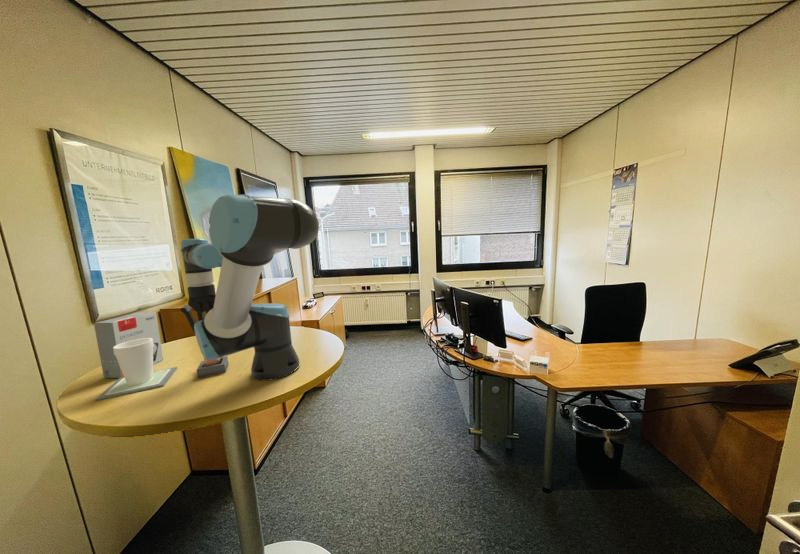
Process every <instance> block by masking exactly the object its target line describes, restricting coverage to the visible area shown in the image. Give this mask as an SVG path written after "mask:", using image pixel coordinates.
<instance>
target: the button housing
mask: <svg viewBox="0 0 800 554" xmlns="http://www.w3.org/2000/svg"><path fill="white" fill-rule="evenodd" d="M228 357H229V356H228V355H227V356H224V357H222V358H220V361H221V363H220V364H217V365H212V366H207V367H205V362H204V360H201V362H200V363H199V365H198V367H196V375H197V376H196V377H197V379H201V378H202V379H203V378H206V377H210V376H216V375H221V374H224V373H226V372H227V369H228V366H229V358H228Z"/></svg>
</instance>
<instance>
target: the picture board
mask: <svg viewBox="0 0 800 554" xmlns="http://www.w3.org/2000/svg"><path fill="white" fill-rule="evenodd" d="M177 369H178V366H174V367H170V368H169V367H167V368H164V369H160V370H153V379H151V380H150V381H147V382H145V383H142V384H138V385H133V386H129V385H127V383H126V380H125V378H124V377H122V378H117V380H115V381H114V382H113V383H112V384H111V385H109V386H108V387H107V388H106V389H105V390H104V391H103V392H102V393H101V394H99V395H98V396H97V397H96V398H94V399H95V401H96V400H98V401H102V400H106V398H107V399H110V398H111V397H112V398H115V396H116V397H120V396H119V395H121V396H125V395H124V394H126V395H129V393H130V394H133V393H134V392H135V393H138V392H144V391H148V390H152V389H156V388H157V389H158V388H162V387H164V386H165V385H166V384H167V382H169V380H170V378H171V377H172V376H173V375H174V374H175V372H176V371H177ZM101 399H102V400H101Z"/></svg>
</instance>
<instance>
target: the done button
mask: <svg viewBox="0 0 800 554" xmlns="http://www.w3.org/2000/svg"><path fill="white" fill-rule="evenodd" d="M203 361H204V362H205V367H207V366H212V365H217V364H220V363H221V361H220V358H217V359H213V360H207V359H205V358H204V357H203Z"/></svg>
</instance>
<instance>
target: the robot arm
mask: <svg viewBox="0 0 800 554" xmlns="http://www.w3.org/2000/svg"><path fill="white" fill-rule="evenodd" d="M318 219H319V218H318V217H317V215H316V213H315V211H314V210H313V209H312V208H311V207H310V206H309V205H307V204H306V203H304V202H302V201H300V200H298V199H293V198H281V197H270V196H269V197H268V196H267V197H266V196H254V195H253V196H252V195H248V194H244V193H243V194H242V193H240V194H236V195H235V194H225V195H222V196H220V197H218V198H217V199H216V200H215V201H214V203H213V205H212V206H211V210H210V212H209V218H208V224H209V227H208V232H209V233H208V234H209V239H210V241H211V242H210V243H209V241H208V239H206V238H187V239H185V238H184V239H182V240H181V241H180V253H181V255H182V262H183V268H184V273H185V274H184V275H185V281H186V282H185V283H186V285H187V286H188V287H187V294H188V301H187V304H186V305H185V306H183V307H181V308H180V312H182V314H184V315H185V318H186V319H187V321H188V323H189V325H190V327H191V330H192V331H193V334H194V335H195V338H196V341H197V344H198V348H199V350H200V352H201V355H202V357H203V359H204V358H205V359H207V360H213V359H217V358H222V357H226V356H227V357H228V356H229V355H233V354H236V353H240V352H242V351H246V350H249V349H254V355H253V360H252V364H251V367H250V373H251V377H252V378H253V379H254V380H257V381H271V379H273V380H276V379H275V378H278V379H280V378H279V377H281V378H283V377H282V376H284V377H286V376H285V375H287V374H289V373H291V372H292V371H294V370H295V369H296V368H297V367H298V366H299V364H300V359H299V356H298V354H297V351H296V350H295V348H294V346H293V341H292V331H291V321H290V313H289V311H288V307H287V306H286V305H285V304H282V303H272V302H269V303H267V302H264V303H255V304H253V300H254V296H255V293H256V290H257V288H258V287H257V286H258V284H259V280H260V277H261V273H262V271H263V267H264V266H265V265H268V264H269V263H270V262H271V261H272V260H273V259H274V256H275V255H277V254H278V253H281V252H283V251H286V250H288V249H293V250H294V249H295V250H296V249H300V248H301V249H302V248H303V247H306V246H308V245H310V244H311V243H313V242H314V241H315V239H316V238H317V237H318V235H319V230H320V229H319V228H320V226H319V224H320V223H319V220H318ZM216 268H220V272H219V277H218V281H217V286H216V287H217V288H215V284H214V282H215V280H214V275H213V274H214V273H213V269H216ZM191 310H194V311H195V312H196V314H197V318H198V321H196V319H195V317H194V315H193V313H192V311H191ZM204 313H206V314H204ZM299 367H300V366H299ZM291 374H292V373H291ZM289 375H290V374H289ZM287 376H288V375H287Z"/></svg>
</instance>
